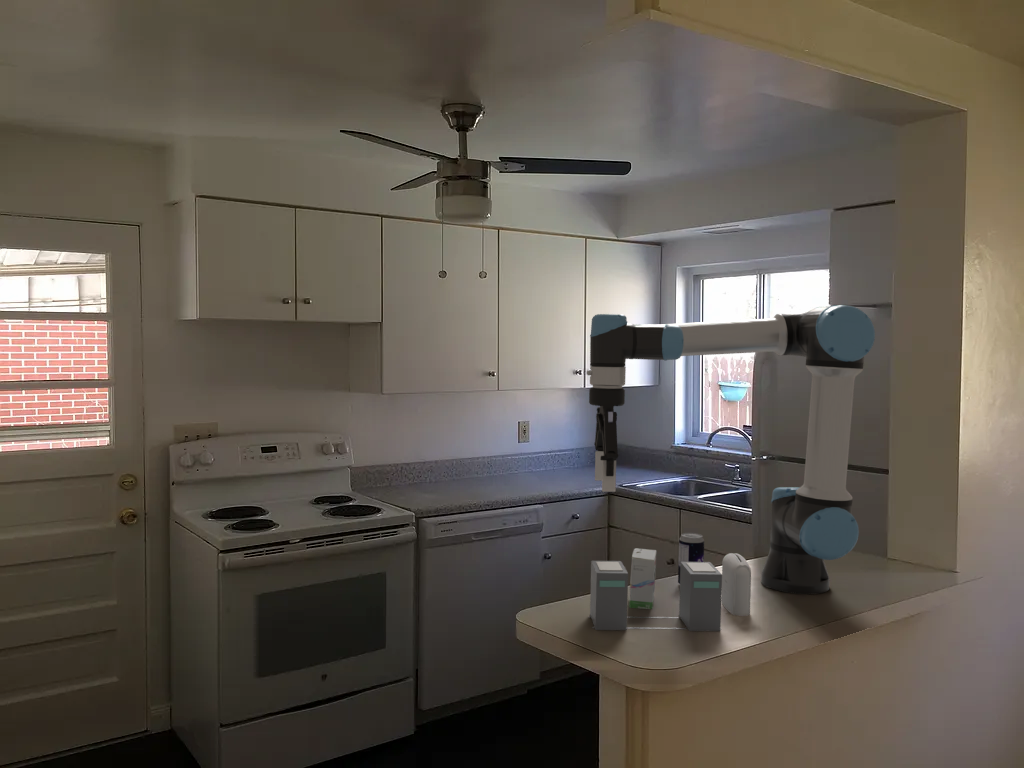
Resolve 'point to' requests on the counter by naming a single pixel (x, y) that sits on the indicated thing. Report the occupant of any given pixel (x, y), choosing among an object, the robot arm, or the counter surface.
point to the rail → (652, 628)
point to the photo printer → (736, 584)
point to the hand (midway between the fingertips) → (604, 485)
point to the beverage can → (690, 549)
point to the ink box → (642, 578)
